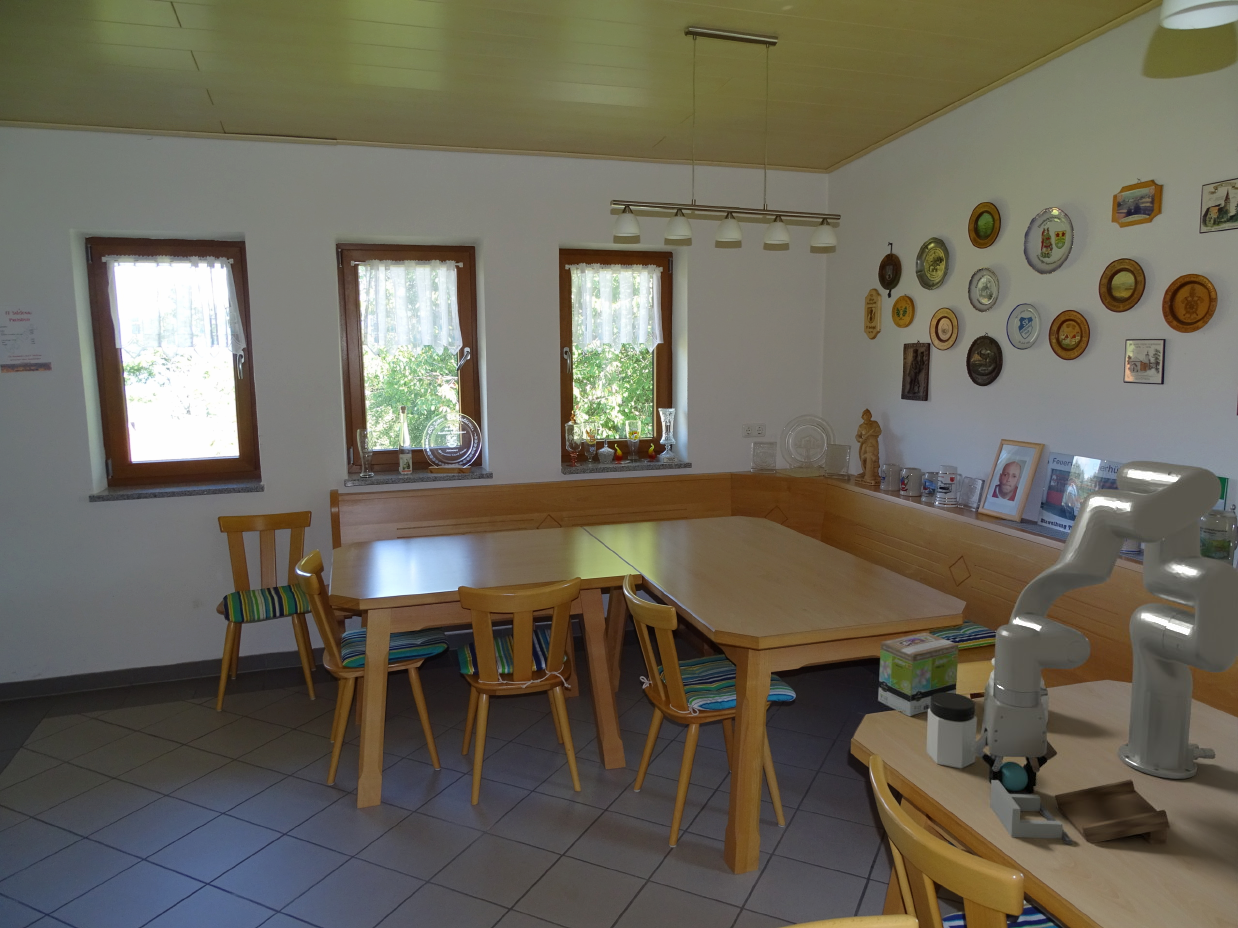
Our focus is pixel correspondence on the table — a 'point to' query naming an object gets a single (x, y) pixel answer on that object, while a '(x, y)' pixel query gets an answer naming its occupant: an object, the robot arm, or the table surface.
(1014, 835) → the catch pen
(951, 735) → the jar
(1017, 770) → the ball
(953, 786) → the table surface
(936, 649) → the tea box
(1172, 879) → the table surface
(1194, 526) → the robot arm
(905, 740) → the table surface
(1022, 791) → the dark grey disc
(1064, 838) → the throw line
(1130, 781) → the ramp
